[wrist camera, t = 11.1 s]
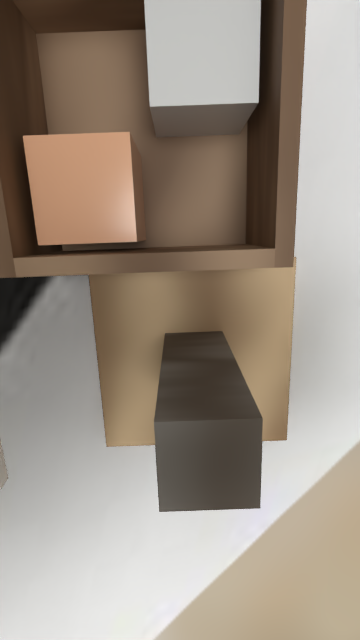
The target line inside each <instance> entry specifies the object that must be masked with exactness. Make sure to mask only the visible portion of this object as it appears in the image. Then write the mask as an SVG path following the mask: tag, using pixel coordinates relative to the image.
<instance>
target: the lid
mask: <svg viewBox="0 0 360 640" xmlns="http://www.w3.org/2000/svg"><path fill="white" fill-rule="evenodd" d="M295 270H296V257H294V263H293V267H284V268H257V269H229V270H202V271H175V272H147V273H120V274H93V275H89V284H90V293H91V303H92V312H93V322H94V331H95V341H96V350H97V360H98V369H99V379H100V388H101V398H102V407H103V417H104V426H105V436H106V445H107V447H111V446H138V445H155V449H156V465H157V481H158V497H159V512H168V511H196V510H224V509H252V508H260V495H261V462H262V441H278V440H287V423H288V404H289V385H290V366H291V346H292V327H293V308H294V289H295Z"/></svg>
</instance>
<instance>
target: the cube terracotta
mask: <svg viewBox="0 0 360 640" xmlns="http://www.w3.org/2000/svg"><path fill="white" fill-rule="evenodd" d="M23 141H24V149H25V156H26V163H27V170H28V177H29V184H30V191H31V198H32V205H33V212H34V220H35V227H36V234H37V241H38V245H60V244H87V243H115V242H138V241H143V240H146V230H145V214H144V197H143V180H142V163H141V155H140V153H139V151H138V148H137V146H136V144H135V142H134V140H133V138H132V136H131V134H130V132H109V133H82V134H55V135H29V136H23Z"/></svg>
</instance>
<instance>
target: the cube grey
mask: <svg viewBox="0 0 360 640" xmlns="http://www.w3.org/2000/svg"><path fill="white" fill-rule="evenodd" d="M144 6H145V25H146V44H147V63H148V83H149V102H150V110H151V115H152V119H153V124H154V128H155V133H156V137H180V136H206V135H233V134H240V132H241V130H242V129H243V127H244V125H245V124H246V122H247V121H248V119H249V117H250V116H251V114H252V113H253V111H254V109H255V108H256V106H257V104H258V103H259V63H260V17H261V0H144Z"/></svg>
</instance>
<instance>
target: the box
mask: <svg viewBox="0 0 360 640" xmlns="http://www.w3.org/2000/svg"><path fill="white" fill-rule="evenodd" d="M306 7H307V0H261V17H260V63H259V103H258V104H257V106H256V108H255V109H254V111H253V113H252V114H251V116H250V117H249V119H248V121H247V122H246V124H245V125H244V127H243V129H242V130H241V132H240V134H233V135H206V136H180V137H156V133H155V128H154V124H153V119H152V115H151V110H150V102H149V83H148V63H147V44H146V25H145V6H144V0H0V278H11V277H38V276H65V275H93V274H120V273H147V272H175V271H202V270H229V269H257V268H284V267H293V263H294V244H295V224H296V204H297V185H298V165H299V145H300V125H301V106H302V86H303V66H304V47H305V27H306ZM109 132H130V134H131V136H132V138H133V140H134V142H135V144H136V146H137V148H138V151H139V153H140V155H141V163H142V180H143V197H144V214H145V230H146V240H143V241H138V242H115V243H87V244H60V245H38V241H37V234H36V227H35V220H34V212H33V205H32V198H31V191H30V184H29V177H28V170H27V163H26V156H25V149H24V141H23V136H29V135H55V134H82V133H109Z"/></svg>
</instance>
